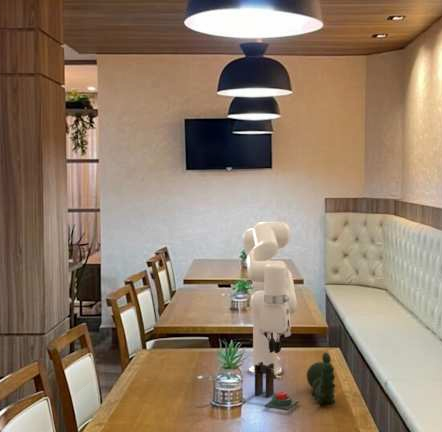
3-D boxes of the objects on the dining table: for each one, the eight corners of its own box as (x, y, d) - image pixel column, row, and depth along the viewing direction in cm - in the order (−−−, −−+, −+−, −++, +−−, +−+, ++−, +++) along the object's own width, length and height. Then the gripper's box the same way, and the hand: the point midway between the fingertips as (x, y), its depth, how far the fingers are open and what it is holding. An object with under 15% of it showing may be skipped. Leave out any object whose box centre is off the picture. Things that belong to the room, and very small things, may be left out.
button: (279, 396, 216) (279, 391, 216) (288, 398, 215) (288, 392, 215) (275, 399, 213) (275, 394, 213) (284, 400, 212) (284, 395, 212)
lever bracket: (259, 392, 231) (259, 358, 230) (283, 395, 227) (283, 361, 226) (244, 402, 220) (244, 367, 219) (269, 406, 216) (269, 370, 216)
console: (276, 402, 220) (276, 391, 220) (298, 405, 217) (298, 395, 216) (264, 410, 212) (264, 399, 212) (287, 414, 208) (287, 403, 208)
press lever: (268, 380, 232) (269, 373, 233) (281, 382, 230) (282, 375, 231) (255, 371, 223) (256, 364, 223) (268, 372, 220) (270, 365, 221)
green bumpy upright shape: (342, 415, 212) (330, 385, 237) (343, 359, 210) (331, 334, 234) (312, 416, 212) (304, 385, 237) (313, 359, 209) (304, 334, 234)
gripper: (299, 299, 230) (299, 352, 231) (259, 296, 236) (259, 347, 237) (291, 303, 223) (291, 357, 224) (250, 299, 230) (250, 352, 231)
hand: (274, 351), depth 231 cm, fingers closed
